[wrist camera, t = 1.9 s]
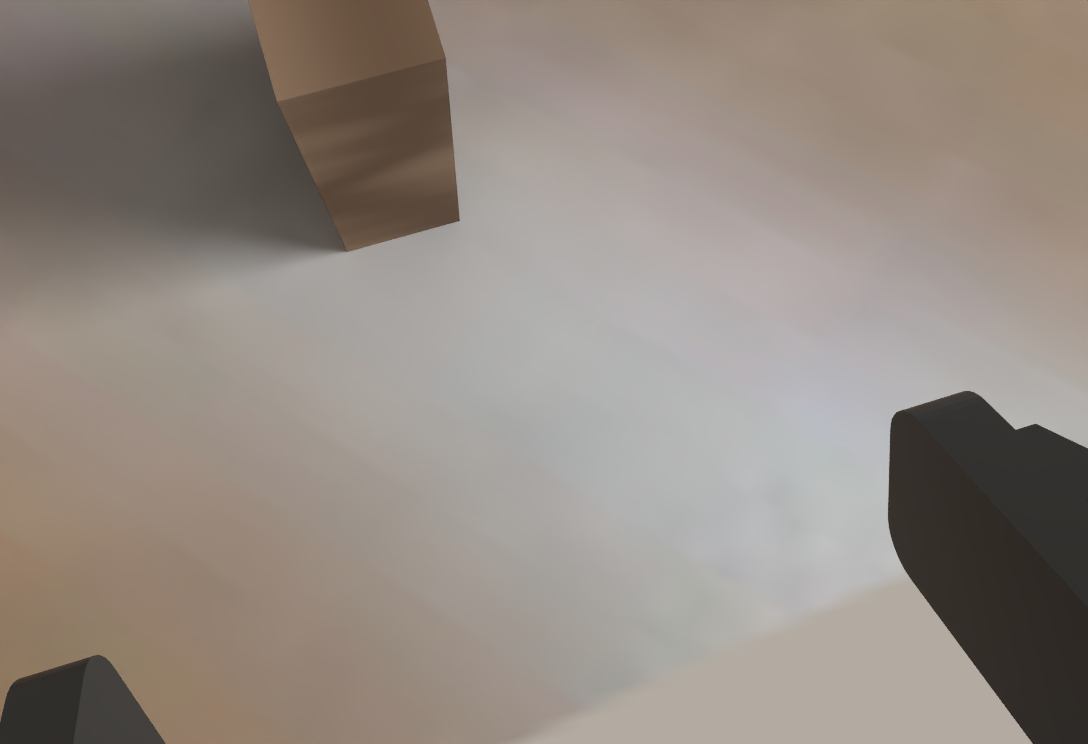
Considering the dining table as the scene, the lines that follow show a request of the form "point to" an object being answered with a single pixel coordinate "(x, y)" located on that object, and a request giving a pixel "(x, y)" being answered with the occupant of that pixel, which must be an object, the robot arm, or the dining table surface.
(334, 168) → the brown wooden block
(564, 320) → the dining table surface
